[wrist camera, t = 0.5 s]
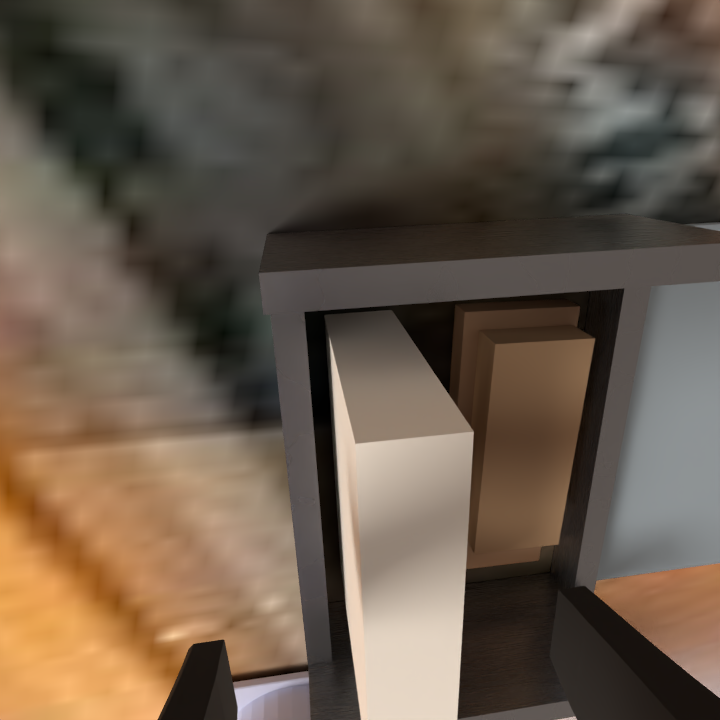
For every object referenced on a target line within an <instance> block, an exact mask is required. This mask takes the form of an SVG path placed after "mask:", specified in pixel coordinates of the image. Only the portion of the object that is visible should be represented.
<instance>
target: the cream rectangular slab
mask: <svg viewBox="0 0 720 720" xmlns="http://www.w3.org/2000/svg"><path fill="white" fill-rule="evenodd" d="M324 318H325V333H326V349H327V364H328V379H329V395H330V410H331V426H332V441H333V457H334V472H335V488H336V503H337V519H338V534H339V549H340V565H341V574H342V581H343V589H344V596H345V604H346V611H347V618H348V626H349V633H350V641H351V648H352V656H353V663H354V671H355V678H356V686H357V693H358V701H359V708H360V716H361V720H457V715H458V698H459V680H460V663H461V646H462V628H463V611H464V594H465V576H466V559H467V542H468V524H469V507H470V490H471V472H472V455H473V438H474V431H473V430H472V428H471V427H470V425H469V424H468V422H467V421H466V419H465V418H464V416H463V415H462V413H461V412H460V410H459V409H458V407H457V406H456V404H455V403H454V401H453V400H452V398H451V397H450V395H449V394H448V393H447V391H446V390H445V388H444V387H443V385H442V384H441V382H440V381H439V379H438V378H437V376H436V375H435V373H434V372H433V370H432V369H431V367H430V366H429V364H428V363H427V361H426V360H425V358H424V357H423V355H422V354H421V352H420V351H419V349H418V348H417V346H416V345H415V344H414V342H413V341H412V339H411V338H410V336H409V335H408V333H407V332H406V330H405V329H404V327H403V326H402V324H401V323H400V321H399V320H398V318H397V317H396V315H395V314H394V312H393V311H392V310H383V311H369V312H356V313H342V314H329V315H324Z"/></svg>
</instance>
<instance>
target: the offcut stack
mask: <svg viewBox="0 0 720 720" xmlns="http://www.w3.org/2000/svg"><path fill="white" fill-rule="evenodd" d="M579 311H580V306H579V305H577V304H575V303H573V302H571V301H569V300H567V299H552V300H530V301H508V302H486V303H464V304H455V315H454V330H453V345H452V360H451V375H450V390H449V395H450V397H451V398H452V400H453V401H454V403H455V404H456V406H457V407H458V409H459V410H460V412H461V413H462V415H463V416H464V418H465V419H466V421H467V422H468V424H469V425H470V427H471V428H472V430H473V431H474V438H473V455H472V472H471V490H470V507H469V524H468V542H467V559H466V569H472V568H480V567H489V566H497V565H506V564H514V563H522V562H531V561H539V557H540V551H541V546H549V545H558V544H559V538H560V533H561V527H562V522H563V516H564V510H565V505H566V499H567V493H568V488H569V482H570V477H571V471H572V465H573V460H574V454H575V449H576V443H577V437H578V432H579V426H580V421H581V415H582V409H583V404H584V398H585V393H586V387H587V381H588V376H589V370H590V365H591V359H592V353H593V348H594V342H595V338H594V337H592V336H590V335H589V334H587V333H585V332H584V331H582V330H580V329H579V328H577V324H578V318H579Z"/></svg>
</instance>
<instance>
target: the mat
mask: <svg viewBox="0 0 720 720" xmlns="http://www.w3.org/2000/svg"><path fill="white" fill-rule="evenodd" d="M684 225H690V226H695V227H700V228H706V229H711V230H717V231H720V222H715V223H698V224H684ZM717 563H720V281H718V282H704V283H691V284H677V285H663V286H651V292H650V297H649V302H648V308H647V313H646V318H645V324H644V329H643V334H642V340H641V345H640V350H639V356H638V361H637V366H636V372H635V377H634V382H633V387H632V393H631V398H630V403H629V409H628V414H627V419H626V425H625V430H624V435H623V441H622V446H621V451H620V457H619V462H618V467H617V473H616V478H615V483H614V489H613V494H612V499H611V505H610V510H609V515H608V521H607V526H606V531H605V536H604V542H603V547H602V552H601V558H600V563H599V568H598V574H597V579H596V580H603V579H610V578H617V577H625V576H632V575H639V574H646V573H653V572H660V571H667V570H674V569H681V568H688V567H696V566H703V565H710V564H717Z"/></svg>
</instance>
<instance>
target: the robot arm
mask: <svg viewBox="0 0 720 720" xmlns="http://www.w3.org/2000/svg"><path fill="white" fill-rule="evenodd" d="M550 658H551V661H552V663H553V666H554V668H555V671H556V673H557V676H558V678H559V681H560V683H561V686H562V688H563V690H564V693H565V695H566V697H567V700H568V702H569V704H570V707H571V709H572V711H573V713H574V714H575V716H576V718H577V720H720V698H719V697H718V696H716V695H715V694H714V693H712V692H711V691H710V690H709V689H707V688H706V687H705V686H703V685H702V684H701V683H700V682H698V681H697V680H696V679H695V678H693V677H692V676H691V675H690V674H688V673H687V672H686V671H685V670H684V669H682V668H681V667H680V666H679V665H677V664H676V663H675V662H674V661H673V660H671V659H670V658H669V657H668V656H666V655H665V654H664V653H663V652H662V651H660V650H659V649H658V648H657V647H656V646H654V645H653V644H652V643H651V642H650V641H649V640H647V639H646V638H645V637H644V636H643V635H641V634H640V633H639V632H638V631H637V630H636V629H634V628H633V627H632V626H631V625H630V624H629V623H627V622H626V621H625V620H624V619H623V618H622V617H621V616H619V615H618V614H617V613H616V612H615V611H614V610H612V609H611V608H610V607H609V606H608V605H607V604H605V603H604V602H603V601H602V600H601V599H600V598H599V597H597V596H596V595H595V594H594V593H593V592H592V591H590V590H589V589H588V588H587V587H586V586H579V587H573V588H566V589H559V590H558V597H557V605H556V612H555V619H554V627H553V634H552V641H551V649H550ZM158 720H311V717H310V695H309V673H308V671H304V672H298V673H291V674H284V675H278V676H271V677H265V678H258V679H251V680H245V681H238V682H233V681H232V676H231V671H230V666H229V661H228V656H227V651H226V646H225V641H224V640H218V641H211V642H204V643H197V644H193V645H192V646H191V647H190V648H189V650H188V652H187V655H186V658H185V660H184V663H183V665H182V667H181V670H180V672H179V674H178V677H177V679H176V681H175V684H174V686H173V688H172V690H171V692H170V695H169V697H168V699H167V701H166V703H165V705H164V707H163V710H162V712H161V714H160V716H159V718H158Z"/></svg>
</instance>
